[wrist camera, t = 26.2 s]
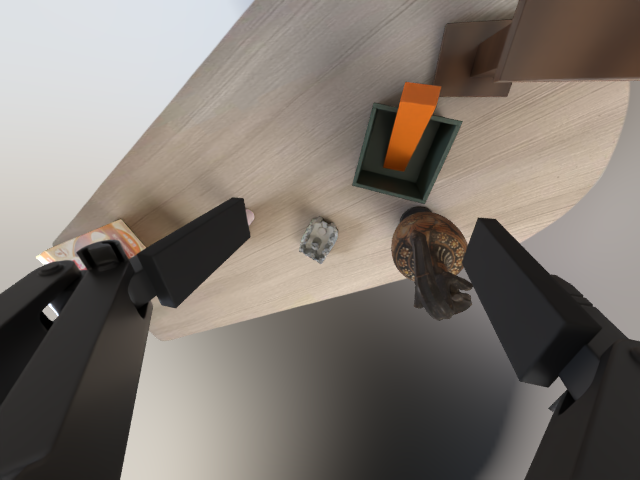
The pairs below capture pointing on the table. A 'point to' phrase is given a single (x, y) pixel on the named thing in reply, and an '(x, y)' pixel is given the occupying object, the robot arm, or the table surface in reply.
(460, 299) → the vase
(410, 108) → the block
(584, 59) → the stand
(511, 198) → the table surface
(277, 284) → the table surface
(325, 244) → the egg carton
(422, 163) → the trash bin
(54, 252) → the coffeecake box
